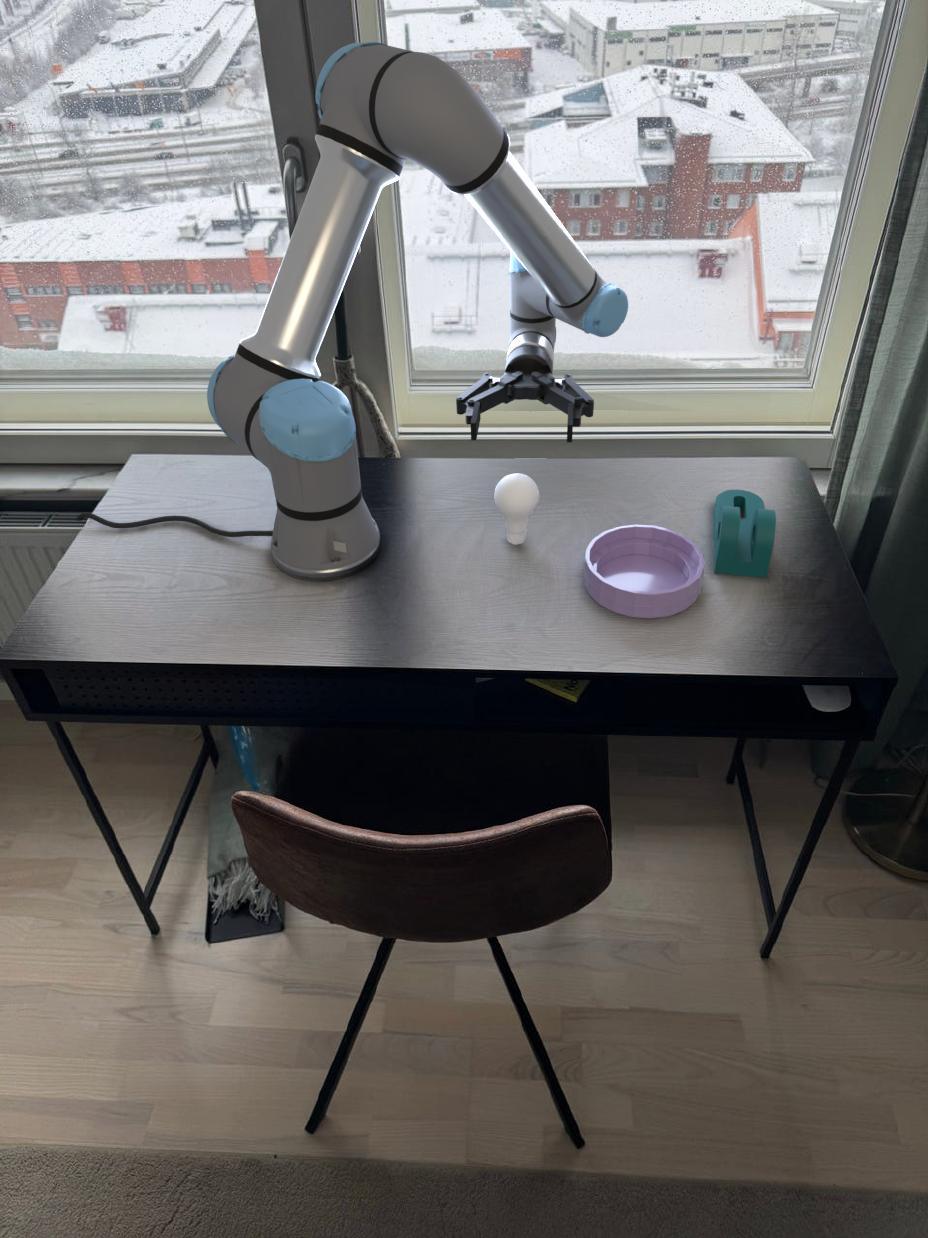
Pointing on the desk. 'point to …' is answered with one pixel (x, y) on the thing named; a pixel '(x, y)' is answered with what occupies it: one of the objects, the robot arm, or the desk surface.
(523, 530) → the lightbulb
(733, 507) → the bracket
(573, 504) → the desk surface
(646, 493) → the desk surface
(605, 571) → the bowl
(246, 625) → the desk surface
